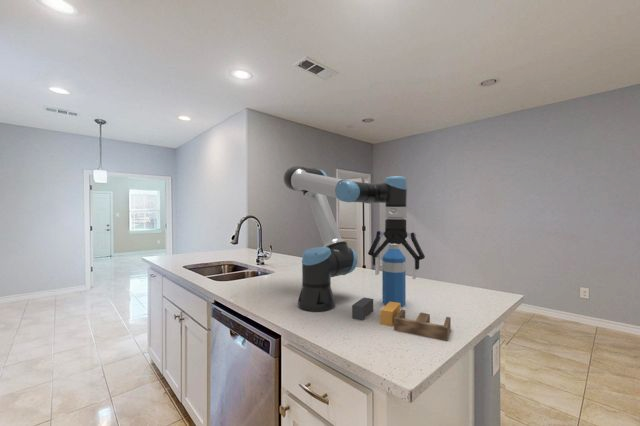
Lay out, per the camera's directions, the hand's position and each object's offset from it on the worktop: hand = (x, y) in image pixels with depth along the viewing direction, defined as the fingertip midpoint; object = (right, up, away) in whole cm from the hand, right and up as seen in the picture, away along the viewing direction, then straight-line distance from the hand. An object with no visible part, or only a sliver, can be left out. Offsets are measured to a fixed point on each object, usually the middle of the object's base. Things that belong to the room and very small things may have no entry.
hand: (395, 276), depth 106 cm
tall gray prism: (-12, -15, +1) cm, 19 cm away
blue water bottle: (+3, -15, +14) cm, 21 cm away
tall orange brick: (-3, -15, -4) cm, 16 cm away
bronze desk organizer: (+6, -15, -13) cm, 20 cm away
